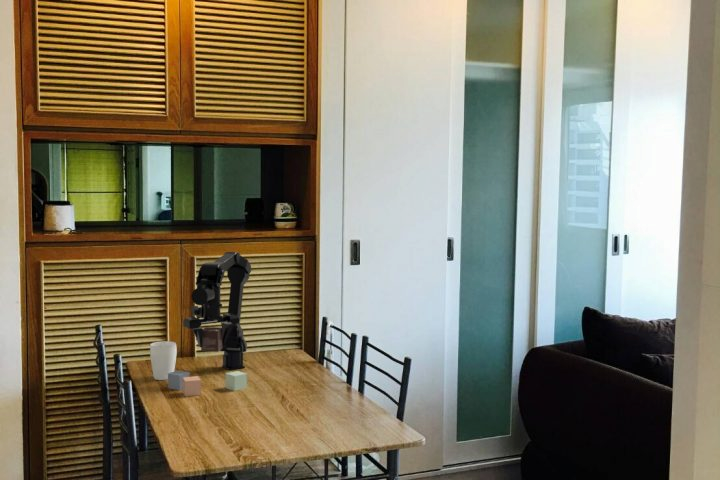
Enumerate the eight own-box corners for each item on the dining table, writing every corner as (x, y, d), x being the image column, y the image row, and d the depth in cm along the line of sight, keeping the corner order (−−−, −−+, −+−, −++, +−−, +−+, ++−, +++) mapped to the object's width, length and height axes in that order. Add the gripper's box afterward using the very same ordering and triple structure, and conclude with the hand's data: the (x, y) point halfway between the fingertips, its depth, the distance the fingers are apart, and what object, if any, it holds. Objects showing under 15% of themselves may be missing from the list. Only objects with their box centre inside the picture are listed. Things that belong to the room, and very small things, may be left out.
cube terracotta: (198, 391, 263) (198, 376, 262) (200, 395, 258) (200, 380, 258) (182, 392, 261) (182, 377, 261) (185, 396, 256) (185, 381, 256)
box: (223, 348, 276) (223, 327, 276) (218, 352, 270) (218, 330, 270) (205, 347, 277) (205, 326, 276) (200, 351, 271) (200, 330, 270)
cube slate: (178, 384, 270) (178, 370, 269) (189, 386, 268) (189, 372, 267) (168, 388, 266) (167, 373, 265) (179, 390, 263) (179, 375, 263)
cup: (173, 381, 273) (173, 347, 272) (147, 381, 274) (146, 346, 273) (179, 374, 282) (179, 341, 281) (154, 374, 283) (154, 340, 282)
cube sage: (237, 385, 270) (237, 370, 270) (246, 388, 267) (246, 373, 267) (225, 388, 267) (225, 373, 266) (234, 391, 263) (234, 376, 263)
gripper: (225, 294, 284) (225, 338, 286) (176, 299, 273) (176, 344, 275) (240, 299, 275) (240, 343, 277) (190, 304, 264) (190, 350, 266)
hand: (211, 345), depth 274 cm, fingers closed on box, 8 cm apart
